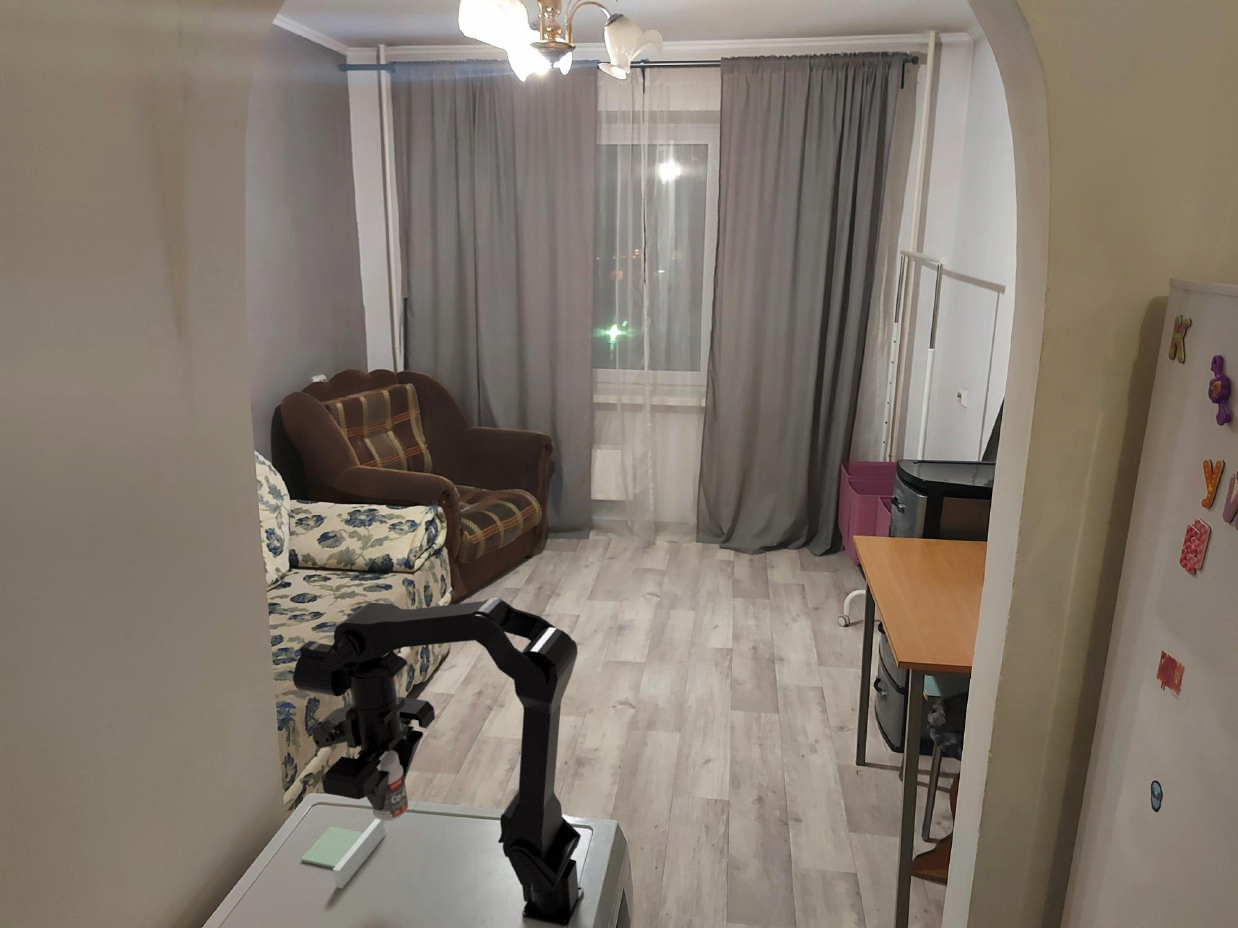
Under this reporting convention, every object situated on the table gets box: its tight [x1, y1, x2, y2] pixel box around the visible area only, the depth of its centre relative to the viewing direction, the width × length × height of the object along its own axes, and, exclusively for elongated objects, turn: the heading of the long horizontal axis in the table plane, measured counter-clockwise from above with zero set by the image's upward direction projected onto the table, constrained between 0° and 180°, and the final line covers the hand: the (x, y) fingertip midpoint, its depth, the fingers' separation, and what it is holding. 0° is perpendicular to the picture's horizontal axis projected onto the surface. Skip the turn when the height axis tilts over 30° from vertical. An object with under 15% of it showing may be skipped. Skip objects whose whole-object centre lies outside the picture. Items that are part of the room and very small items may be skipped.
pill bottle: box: [371, 750, 409, 822], centre depth 117 cm, size 5×5×8 cm
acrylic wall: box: [332, 817, 387, 889], centre depth 123 cm, size 1×11×3 cm, turn 162°
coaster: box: [300, 825, 364, 869], centre depth 126 cm, size 7×7×1 cm
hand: (389, 797), depth 117 cm, fingers closed on pill bottle, 5 cm apart
